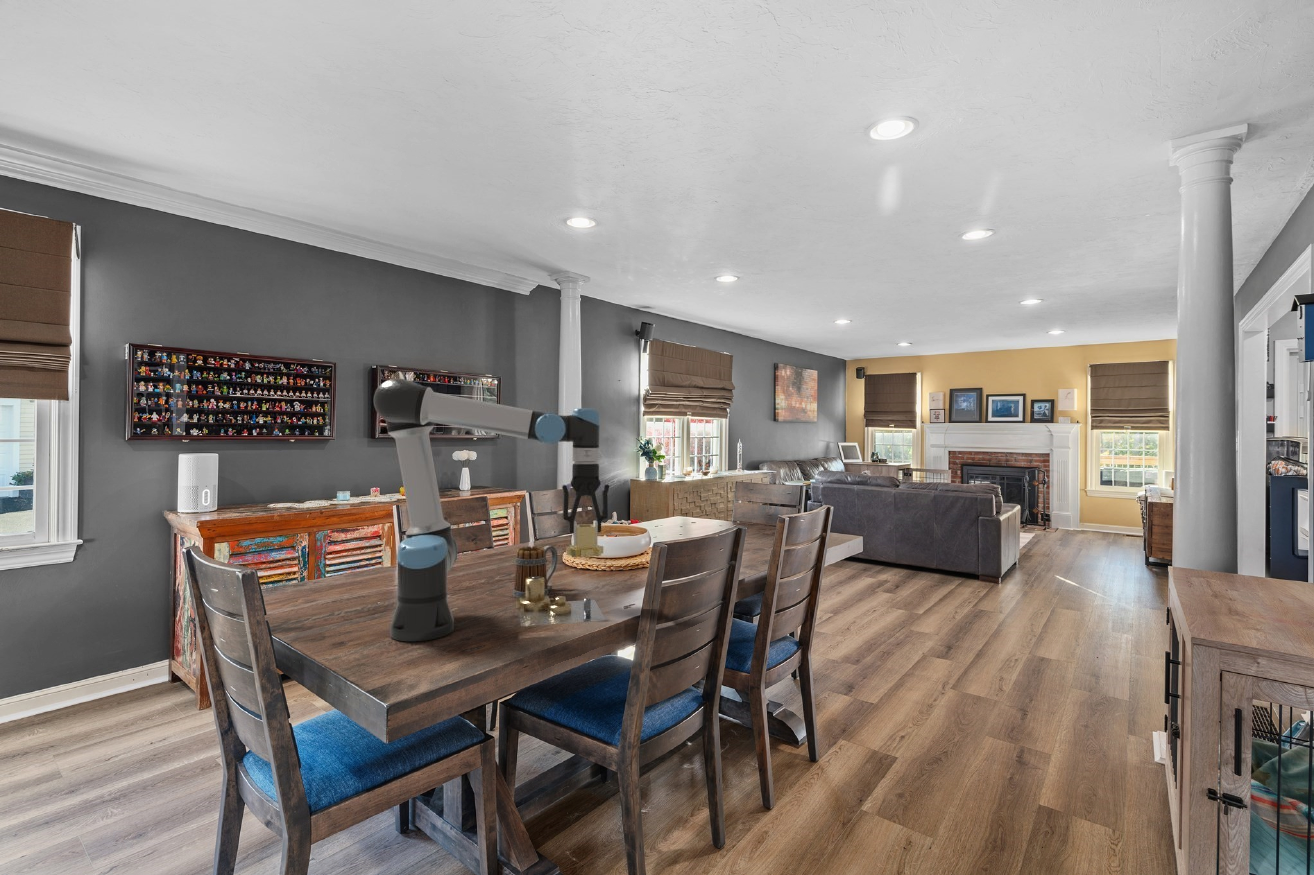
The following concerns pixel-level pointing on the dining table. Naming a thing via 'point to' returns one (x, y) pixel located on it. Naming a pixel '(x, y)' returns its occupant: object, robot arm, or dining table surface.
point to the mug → (533, 567)
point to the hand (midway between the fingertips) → (585, 544)
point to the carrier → (553, 607)
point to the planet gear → (585, 543)
